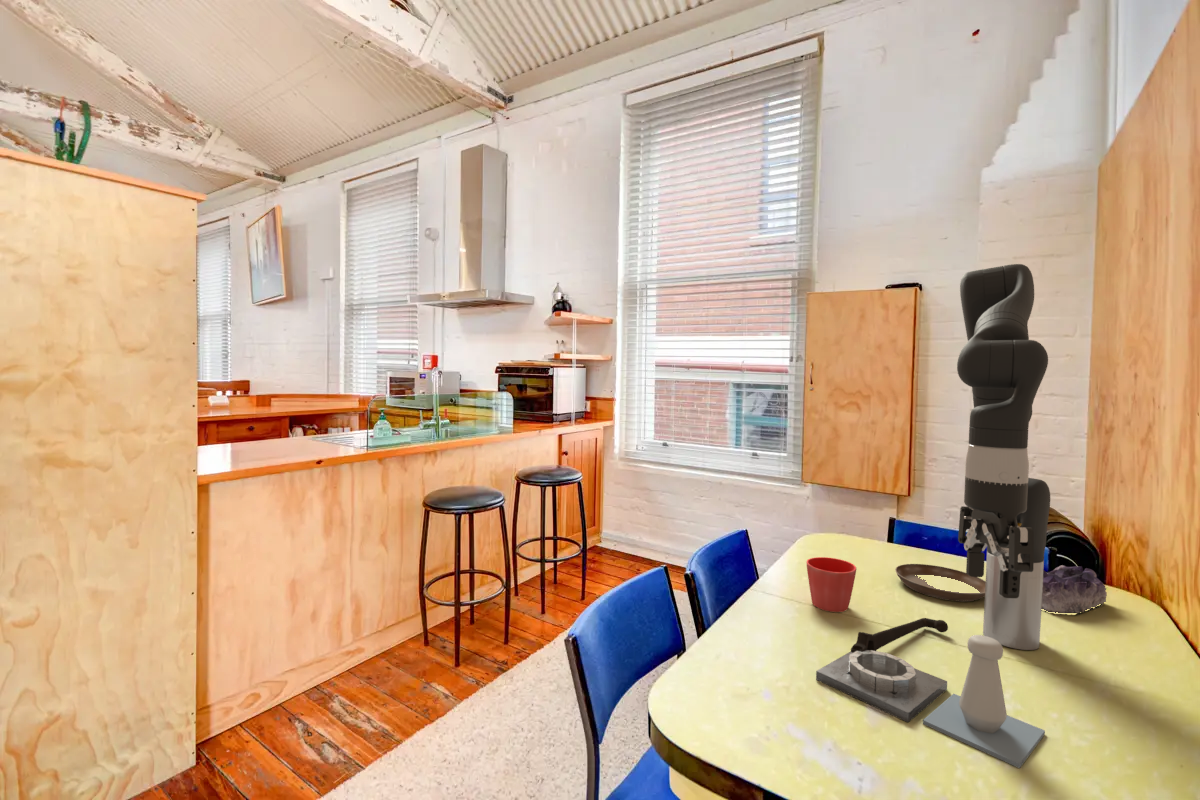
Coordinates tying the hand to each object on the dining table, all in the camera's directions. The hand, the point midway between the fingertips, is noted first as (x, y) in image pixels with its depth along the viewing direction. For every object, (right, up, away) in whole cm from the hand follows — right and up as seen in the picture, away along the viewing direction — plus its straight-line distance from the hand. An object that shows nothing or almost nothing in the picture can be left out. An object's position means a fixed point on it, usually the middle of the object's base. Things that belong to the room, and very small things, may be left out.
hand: (990, 586), depth 82 cm
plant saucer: (+29, -21, +59) cm, 69 cm away
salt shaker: (-1, -21, +1) cm, 21 cm away
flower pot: (-5, -20, +46) cm, 51 cm away
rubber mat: (-1, -22, +1) cm, 22 cm away
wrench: (+1, -21, +25) cm, 32 cm away
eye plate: (-10, -21, +13) cm, 26 cm away
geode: (+53, -22, +50) cm, 76 cm away
